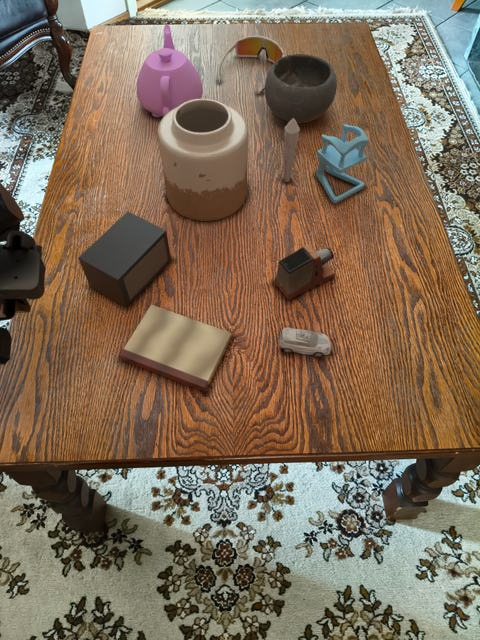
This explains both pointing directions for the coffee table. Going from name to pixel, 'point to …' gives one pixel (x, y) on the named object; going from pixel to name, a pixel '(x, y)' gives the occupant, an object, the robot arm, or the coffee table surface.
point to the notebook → (176, 347)
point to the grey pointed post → (290, 147)
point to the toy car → (304, 342)
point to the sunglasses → (256, 49)
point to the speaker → (126, 258)
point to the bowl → (300, 87)
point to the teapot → (167, 79)
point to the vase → (204, 159)
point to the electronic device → (303, 271)
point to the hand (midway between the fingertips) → (27, 309)
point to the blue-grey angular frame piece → (341, 160)
